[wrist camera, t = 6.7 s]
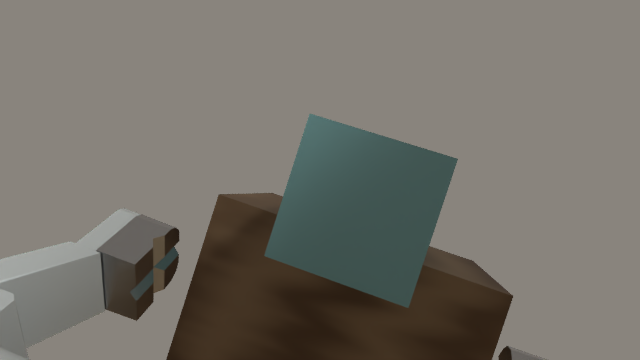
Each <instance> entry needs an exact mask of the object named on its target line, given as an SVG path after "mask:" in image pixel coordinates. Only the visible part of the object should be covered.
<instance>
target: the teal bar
mask: <svg viewBox="0 0 640 360" xmlns="http://www.w3.org/2000/svg"><path fill="white" fill-rule="evenodd" d="M457 160H458V159H456V158H453V157H450V156H447V155H443V154H440V153H437V152H433V151H430V150H427V149H424V148H420V147H417V146H414V145H410V144H407V143H404V142H401V141H398V140H394V139H391V138H388V137H385V136H381V135H378V134H375V133H371V132H368V131H365V130H361V129H358V128H355V127H352V126H348V125H345V124H342V123H339V122H335V121H332V120H329V119H326V118H322V117H319V116H316V115H313V114H310V115H309V118H308V121H307V124H306V127H305V130H304V133H303V137H302V140H301V143H300V146H299V149H298V152H297V155H296V158H295V161H294V165H293V168H292V171H291V174H290V177H289V180H288V183H287V186H286V189H285V193H284V196H283V199H282V202H281V205H280V208H279V211H278V214H277V217H276V220H275V223H274V227H273V230H272V233H271V236H270V239H269V242H268V245H267V248H266V251H265V255H264V256H266V257H268V258H271V259H274V260H277V261H279V262H282V263H285V264H288V265H291V266H293V267H296V268H299V269H302V270H304V271H307V272H310V273H313V274H315V275H318V276H321V277H324V278H326V279H329V280H332V281H335V282H338V283H340V284H343V285H346V286H349V287H351V288H354V289H357V290H360V291H362V292H365V293H368V294H371V295H373V296H376V297H379V298H382V299H384V300H387V301H390V302H393V303H396V304H398V305H401V306H404V307H407V308H409V305H410V302H411V299H412V296H413V293H414V290H415V286H416V283H417V280H418V277H419V274H420V271H421V268H422V265H423V262H424V259H425V256H426V253H427V250H428V247H429V244H430V241H431V238H432V235H433V232H434V229H435V226H436V223H437V220H438V217H439V214H440V211H441V208H442V205H443V202H444V199H445V196H446V193H447V190H448V187H449V184H450V181H451V178H452V175H453V172H454V169H455V166H456V163H457Z"/></svg>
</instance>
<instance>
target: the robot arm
mask: <svg viewBox="0 0 640 360" xmlns="http://www.w3.org/2000/svg"><path fill="white" fill-rule="evenodd" d="M178 241H179V230H178V229H177V228H175V227H172V226H170V225H168V224H165V223H163V222H160V221H157V220H155V219H152V218H150V217H147V216H144V215H140V214H138V213H135V212H133V211H130V210H128V209H125V208H124V209H119V210H117V211H116V212H115V213H113V214H112V215H111V216H110V217H108V218H107V219H106V220H104V221H103V222H102V223H101V224H100V225H98V226H97V227H96V228H94V229H93V230H92V231H90V232H89V233H88V234H87V235H86V236H84V237H83V238H82V239H80V240H79V241H78V242H76V243H73V242H66V243H62V244H58V245H54V246H50V247H47V248H42V249H39V250H35V251H31V252H27V253H23V254H19V255H15V256H11V257H8V258H3V259H0V360H29V358H28V354H27V349H26V348H28V347H30V346H32V345H35V344H37V343H39V342H41V341H43V340H45V339H47V338H49V337H51V336H54V335H56V334H58V333H60V332H62V331H64V330H66V329H68V328H70V327H73V326H75V325H77V324H79V323H81V322H83V321H85V320H87V319H90V318H92V317H94V316H96V315H98V314H100V313H102V312H104V311H105V309H106V310H109V311H111V312H114V313H117V314H120V315H122V316H125V317H128V318H131V319H133V320H136V321H137V320H138V319H139V317H140V316H141V315H142V314H143V313H144V312H145V311H146V309H147V308H148V307H149V306H150V305H151V304H152V303H153V293H155V292H158V291H161V290H163V289H165V287H166V286H167V285H168V284H169V282H170V281H171V279H172V278H173V276H174V274H175V272H176V269H177V265H178V258H179V257H178V256H179V254H178V252H177V251H176V249H175V247H174V246H175V245H176V243H178ZM499 360H547V359H543V358H541V357H538V356H535V355H532V354H529V353H526V352H523V351H521V350H518V349H515V348H512V347H509V346H506V347H505V348H504V349H503V350H502V352H501V353H500V355H499Z"/></svg>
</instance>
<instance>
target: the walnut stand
mask: <svg viewBox="0 0 640 360" xmlns="http://www.w3.org/2000/svg"><path fill="white" fill-rule="evenodd" d="M282 199H283V197H282V196H279V195H276V194H274V193H256V194H220V195H219V196H218V199H217V202H216V205H215V208H214V211H213V214H212V218H211V221H210V224H209V227H208V230H207V233H206V237H205V240H204V243H203V246H202V249H201V252H200V255H199V259H198V262H197V265H196V268H195V271H194V274H193V277H192V281H191V284H190V287H189V290H188V293H187V297H186V300H185V303H184V306H183V309H182V312H181V315H180V319H179V321H178V325H177V328H176V331H175V334H174V337H173V341H172V343H171V347H170V350H169V353H168V356H167V360H492V357H493V354H494V351H495V348H496V345H497V343H498V340H499V337H500V334H501V331H502V327H503V325H504V322H505V319H506V316H507V313H508V310H509V307H510V304H511V301H512V298H513V296H512V295H511V294H510V293H509V292H508V291H507V290H506V289H504V288H503V287H502V286H501V285H500V284H499V283H497V282H496V281H495V280H494V279H493V278H492V277H491V276H489V275H488V274H487V273H486V272H485V271H484V270H483V269H481V268H480V267H479V266H478V265H477V264H476V263H475V262H474V261H472V260H469V259H466V258H463V257H460V256H457V255H454V254H450V253H448V252H445V251H442V250H439V249H436V248H433V247H430V246H429V247H428V250H427V253H426V256H425V259H424V262H423V265H422V268H421V271H420V274H419V277H418V280H417V283H416V286H415V290H414V293H413V296H412V299H411V302H410V305H409V308H407V307H404V306H401V305H398V304H396V303H393V302H390V301H387V300H384V299H382V298H379V297H376V296H373V295H371V294H368V293H365V292H362V291H360V290H357V289H354V288H351V287H349V286H346V285H343V284H340V283H338V282H335V281H332V280H329V279H326V278H324V277H321V276H318V275H315V274H313V273H310V272H307V271H304V270H302V269H299V268H296V267H293V266H291V265H288V264H285V263H282V262H279V261H277V260H274V259H271V258H268V257H266V256H264V255H265V251H266V248H267V245H268V242H269V239H270V236H271V233H272V230H273V227H274V223H275V220H276V217H277V214H278V211H279V208H280V205H281V202H282Z"/></svg>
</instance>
